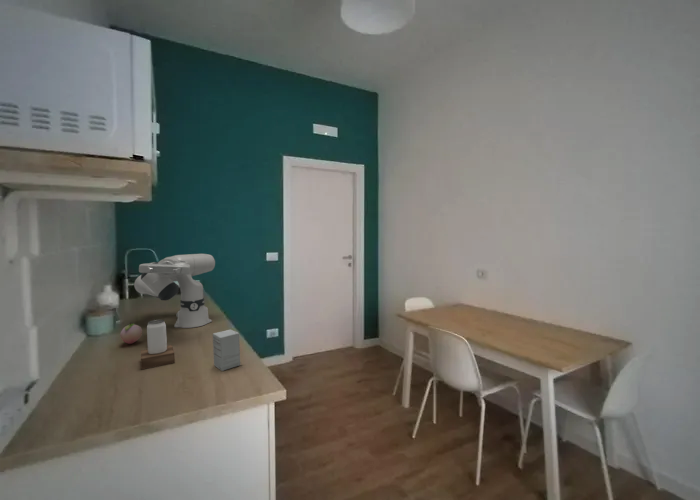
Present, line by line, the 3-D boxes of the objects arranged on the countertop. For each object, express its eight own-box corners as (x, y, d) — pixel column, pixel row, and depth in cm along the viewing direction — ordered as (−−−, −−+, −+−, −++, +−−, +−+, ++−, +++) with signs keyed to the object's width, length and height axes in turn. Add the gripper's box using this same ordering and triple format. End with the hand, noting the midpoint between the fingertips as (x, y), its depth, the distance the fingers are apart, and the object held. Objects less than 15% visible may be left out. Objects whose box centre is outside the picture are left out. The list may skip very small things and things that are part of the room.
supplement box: (232, 360, 130) (231, 328, 130) (240, 365, 125) (239, 332, 125) (213, 365, 125) (212, 333, 125) (221, 371, 120) (220, 337, 119)
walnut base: (141, 360, 132) (140, 350, 132) (172, 354, 138) (172, 344, 138) (141, 369, 123) (140, 359, 123) (174, 362, 129) (174, 352, 128)
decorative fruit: (141, 345, 149) (140, 323, 149) (119, 348, 146) (118, 326, 145) (144, 339, 158) (142, 319, 157) (123, 342, 154) (122, 321, 154)
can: (170, 348, 133) (169, 319, 132) (159, 354, 126) (158, 324, 126) (155, 348, 134) (154, 319, 133) (144, 354, 127) (142, 323, 126)
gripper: (142, 259, 153) (135, 262, 140) (191, 262, 160) (189, 264, 147) (141, 273, 153) (134, 277, 140) (190, 274, 160) (188, 278, 147)
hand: (162, 270), depth 144 cm, fingers open, 8 cm apart
